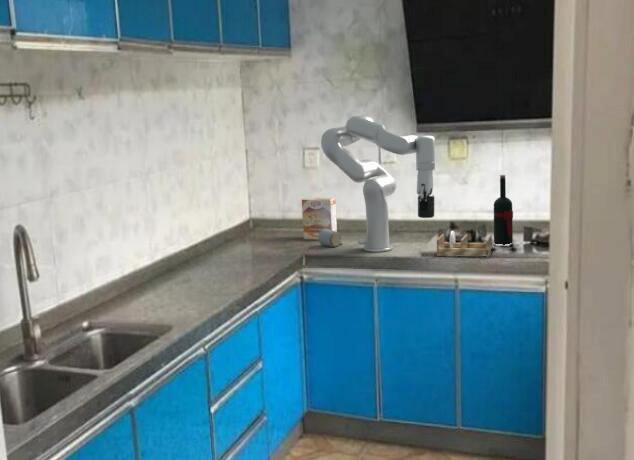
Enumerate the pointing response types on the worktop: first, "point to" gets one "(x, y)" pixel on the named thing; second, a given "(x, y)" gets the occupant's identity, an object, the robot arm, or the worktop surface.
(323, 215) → the coffeecake box
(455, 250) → the rack
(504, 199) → the wine bottle
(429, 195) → the supplement bottle
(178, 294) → the worktop surface
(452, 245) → the plate
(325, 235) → the ceramic mug
